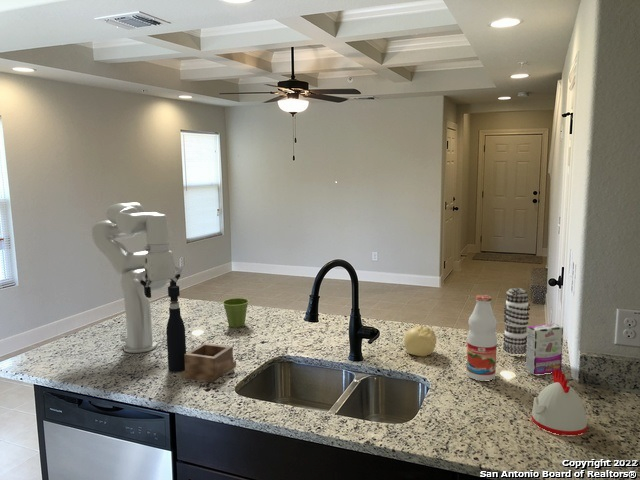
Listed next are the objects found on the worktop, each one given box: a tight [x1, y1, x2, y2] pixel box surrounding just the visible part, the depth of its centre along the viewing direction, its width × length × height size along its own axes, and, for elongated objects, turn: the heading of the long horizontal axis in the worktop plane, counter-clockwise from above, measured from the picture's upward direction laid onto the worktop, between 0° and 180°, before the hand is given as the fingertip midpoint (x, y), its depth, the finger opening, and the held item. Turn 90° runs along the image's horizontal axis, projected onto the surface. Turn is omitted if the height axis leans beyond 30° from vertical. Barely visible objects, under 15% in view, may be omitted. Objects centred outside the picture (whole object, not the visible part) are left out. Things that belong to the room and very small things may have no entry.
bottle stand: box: [181, 342, 237, 383], centre depth 180 cm, size 12×16×8 cm
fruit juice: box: [466, 294, 498, 380], centre depth 171 cm, size 9×9×28 cm
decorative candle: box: [502, 287, 531, 354], centre depth 193 cm, size 9×9×25 cm
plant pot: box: [222, 297, 250, 328], centre depth 231 cm, size 12×12×11 cm
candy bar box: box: [525, 323, 564, 374], centre depth 175 cm, size 11×5×16 cm, turn 105°
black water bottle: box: [165, 285, 187, 373], centre depth 180 cm, size 6×6×30 cm
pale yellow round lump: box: [403, 324, 437, 357], centre depth 194 cm, size 11×12×11 cm
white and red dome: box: [531, 369, 588, 435], centre depth 140 cm, size 14×14×15 cm
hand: (161, 294), depth 186 cm, fingers open, 9 cm apart
